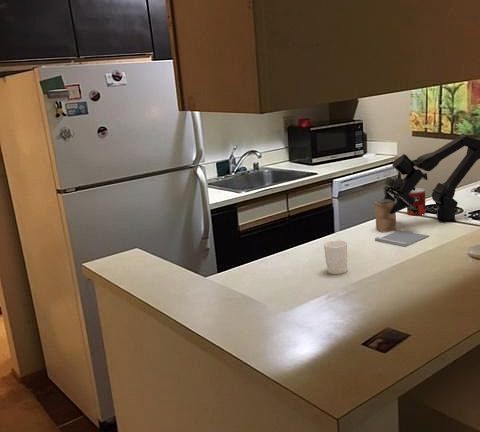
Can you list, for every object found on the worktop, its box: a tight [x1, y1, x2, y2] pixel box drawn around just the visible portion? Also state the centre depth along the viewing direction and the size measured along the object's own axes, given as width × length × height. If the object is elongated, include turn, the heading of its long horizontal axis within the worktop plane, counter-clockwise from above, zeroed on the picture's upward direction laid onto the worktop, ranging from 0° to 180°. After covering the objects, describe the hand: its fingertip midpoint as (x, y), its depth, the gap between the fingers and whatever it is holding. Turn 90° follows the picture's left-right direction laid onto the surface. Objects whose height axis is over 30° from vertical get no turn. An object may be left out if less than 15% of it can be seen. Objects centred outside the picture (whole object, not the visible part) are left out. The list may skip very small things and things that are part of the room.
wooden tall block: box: [374, 198, 397, 233], centre depth 230 cm, size 6×6×13 cm
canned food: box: [406, 187, 426, 217], centre depth 249 cm, size 8×8×11 cm
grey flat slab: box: [374, 229, 430, 248], centre depth 218 cm, size 16×14×1 cm
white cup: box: [323, 239, 348, 275], centre depth 191 cm, size 8×8×10 cm
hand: (385, 211), depth 230 cm, fingers open, 9 cm apart
